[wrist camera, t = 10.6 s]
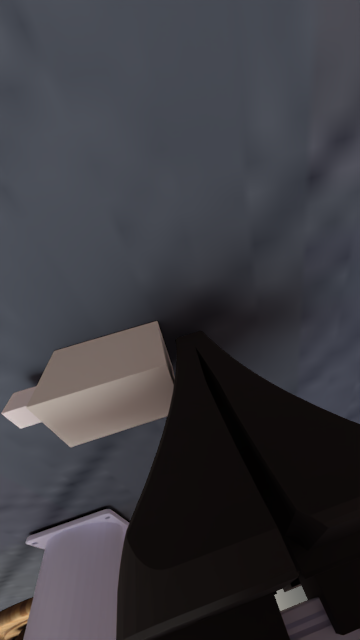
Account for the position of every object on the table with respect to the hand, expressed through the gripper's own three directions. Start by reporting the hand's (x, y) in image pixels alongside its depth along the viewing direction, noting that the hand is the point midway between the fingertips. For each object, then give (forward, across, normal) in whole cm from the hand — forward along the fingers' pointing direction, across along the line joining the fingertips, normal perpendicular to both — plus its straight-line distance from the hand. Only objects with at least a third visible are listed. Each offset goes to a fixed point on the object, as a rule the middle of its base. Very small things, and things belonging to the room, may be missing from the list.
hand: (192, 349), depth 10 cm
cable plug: (+1, +4, 0) cm, 4 cm away
